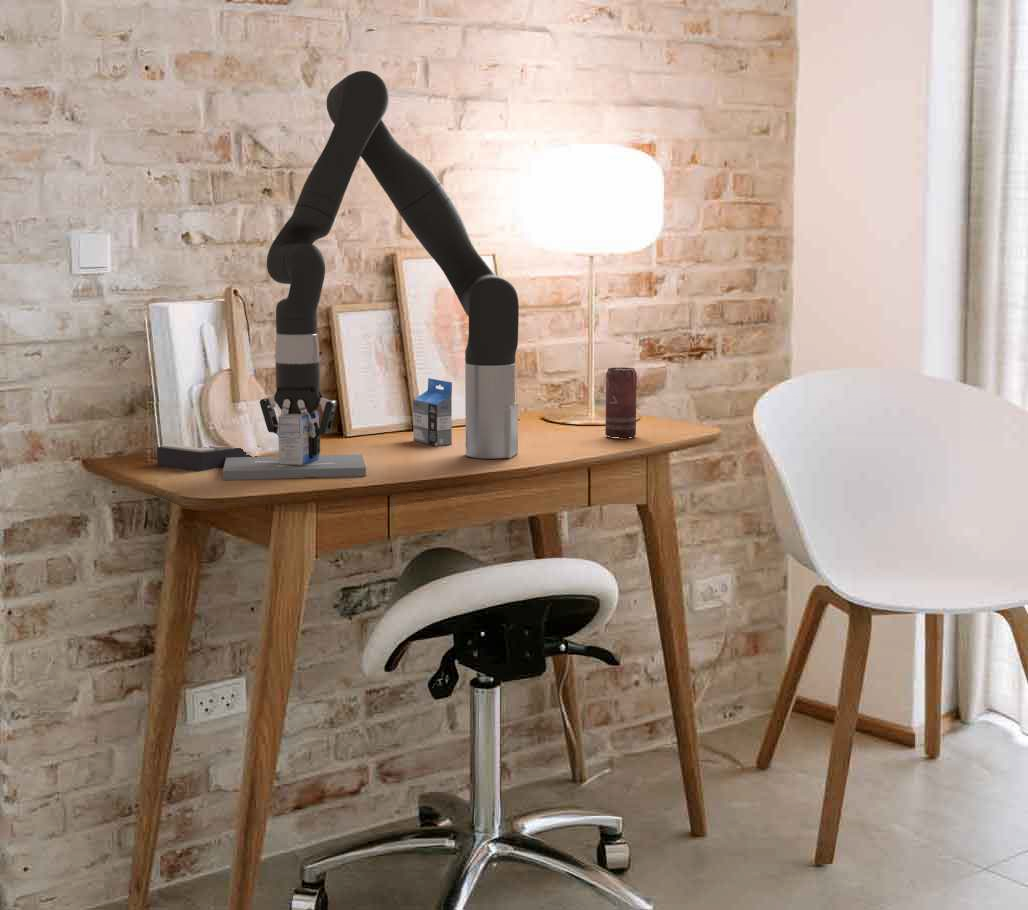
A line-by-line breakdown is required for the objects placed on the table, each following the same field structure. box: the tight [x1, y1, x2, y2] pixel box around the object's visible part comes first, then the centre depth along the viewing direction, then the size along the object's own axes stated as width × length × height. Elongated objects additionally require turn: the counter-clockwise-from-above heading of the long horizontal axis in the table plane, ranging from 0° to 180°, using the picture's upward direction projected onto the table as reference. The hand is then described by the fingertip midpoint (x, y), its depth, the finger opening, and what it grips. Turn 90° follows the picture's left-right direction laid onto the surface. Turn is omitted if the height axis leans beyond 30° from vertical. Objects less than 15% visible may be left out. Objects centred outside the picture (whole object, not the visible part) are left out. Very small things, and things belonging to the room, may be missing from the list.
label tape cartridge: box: [412, 377, 453, 447], centre depth 269 cm, size 9×4×12 cm, turn 36°
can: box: [605, 367, 638, 438], centre depth 276 cm, size 6×6×14 cm
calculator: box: [156, 443, 260, 472], centre depth 248 cm, size 11×4×15 cm
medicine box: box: [277, 410, 320, 466], centre depth 239 cm, size 8×4×9 cm, turn 166°
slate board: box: [222, 453, 367, 481], centre depth 239 cm, size 24×14×2 cm, turn 99°
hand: (299, 457), depth 239 cm, fingers closed on medicine box, 4 cm apart
